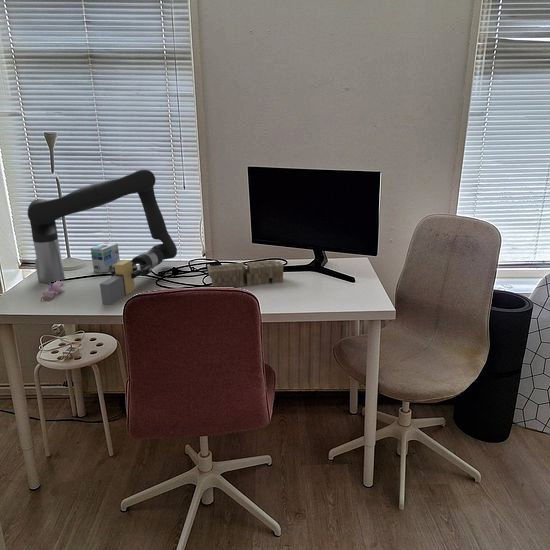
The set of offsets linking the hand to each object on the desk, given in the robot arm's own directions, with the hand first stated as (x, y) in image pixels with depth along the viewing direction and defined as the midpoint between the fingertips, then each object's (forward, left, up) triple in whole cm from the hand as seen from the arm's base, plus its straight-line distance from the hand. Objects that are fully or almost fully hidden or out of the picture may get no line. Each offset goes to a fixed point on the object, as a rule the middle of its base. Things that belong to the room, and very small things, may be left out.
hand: (122, 275), depth 186 cm
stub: (0, +1, -7) cm, 7 cm away
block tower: (+45, +11, -8) cm, 48 cm away
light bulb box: (-18, +30, -8) cm, 36 cm away
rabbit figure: (-27, 0, -8) cm, 28 cm away
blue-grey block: (-2, -6, -8) cm, 10 cm away
